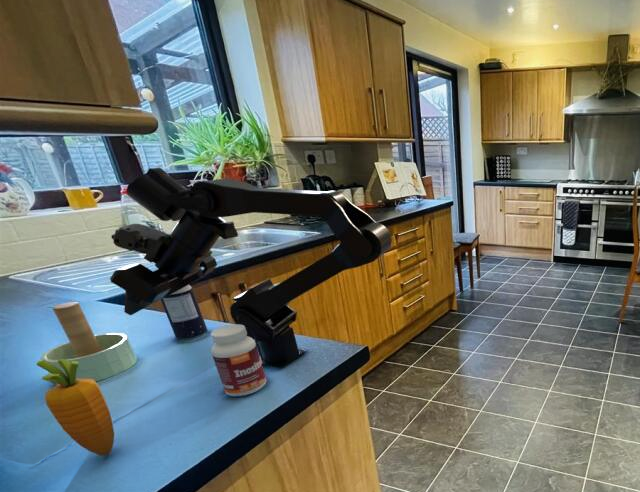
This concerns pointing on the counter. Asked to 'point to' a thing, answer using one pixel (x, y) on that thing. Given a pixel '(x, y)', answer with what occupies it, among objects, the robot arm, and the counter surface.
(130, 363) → the bowl
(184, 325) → the dark blue jar
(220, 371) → the pill bottle
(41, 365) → the carrot
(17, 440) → the counter surface
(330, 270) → the robot arm
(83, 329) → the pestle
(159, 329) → the counter surface
